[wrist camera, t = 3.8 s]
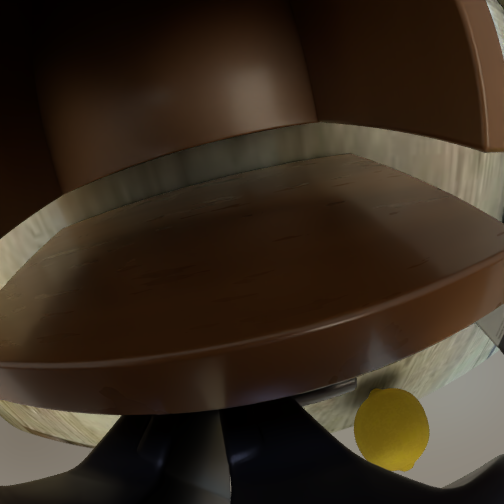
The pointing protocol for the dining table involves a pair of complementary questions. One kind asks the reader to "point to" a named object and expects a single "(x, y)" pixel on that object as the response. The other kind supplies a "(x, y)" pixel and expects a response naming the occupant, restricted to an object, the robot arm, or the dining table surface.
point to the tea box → (494, 326)
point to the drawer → (238, 198)
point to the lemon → (391, 429)
